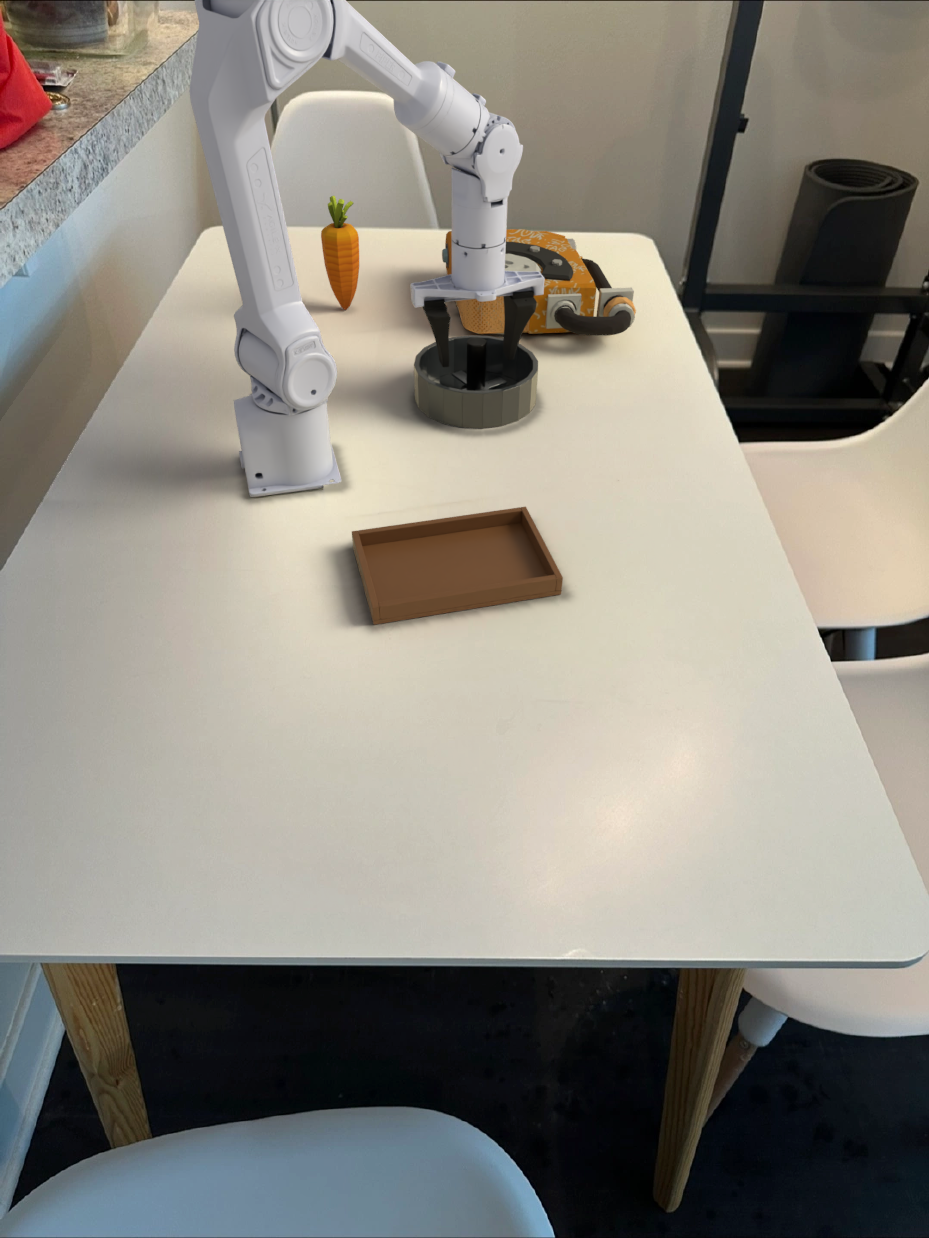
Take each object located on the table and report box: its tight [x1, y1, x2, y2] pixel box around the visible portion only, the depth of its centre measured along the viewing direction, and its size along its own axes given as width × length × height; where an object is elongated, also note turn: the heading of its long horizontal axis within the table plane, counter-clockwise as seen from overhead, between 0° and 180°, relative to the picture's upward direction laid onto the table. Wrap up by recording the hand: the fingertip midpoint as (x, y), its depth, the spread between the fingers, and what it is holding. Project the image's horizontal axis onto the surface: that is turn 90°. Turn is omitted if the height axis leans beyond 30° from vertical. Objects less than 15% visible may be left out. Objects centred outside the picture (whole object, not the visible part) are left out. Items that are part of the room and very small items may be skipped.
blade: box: [452, 337, 507, 391], centre depth 105 cm, size 8×8×7 cm
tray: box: [351, 506, 564, 625], centre depth 84 cm, size 17×11×2 cm, turn 104°
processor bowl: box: [413, 334, 539, 430], centre depth 107 cm, size 14×14×5 cm
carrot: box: [320, 195, 360, 311], centre depth 122 cm, size 5×5×15 cm
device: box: [441, 228, 637, 337], centre depth 124 cm, size 23×8×30 cm
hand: (476, 359), depth 105 cm, fingers open, 7 cm apart
